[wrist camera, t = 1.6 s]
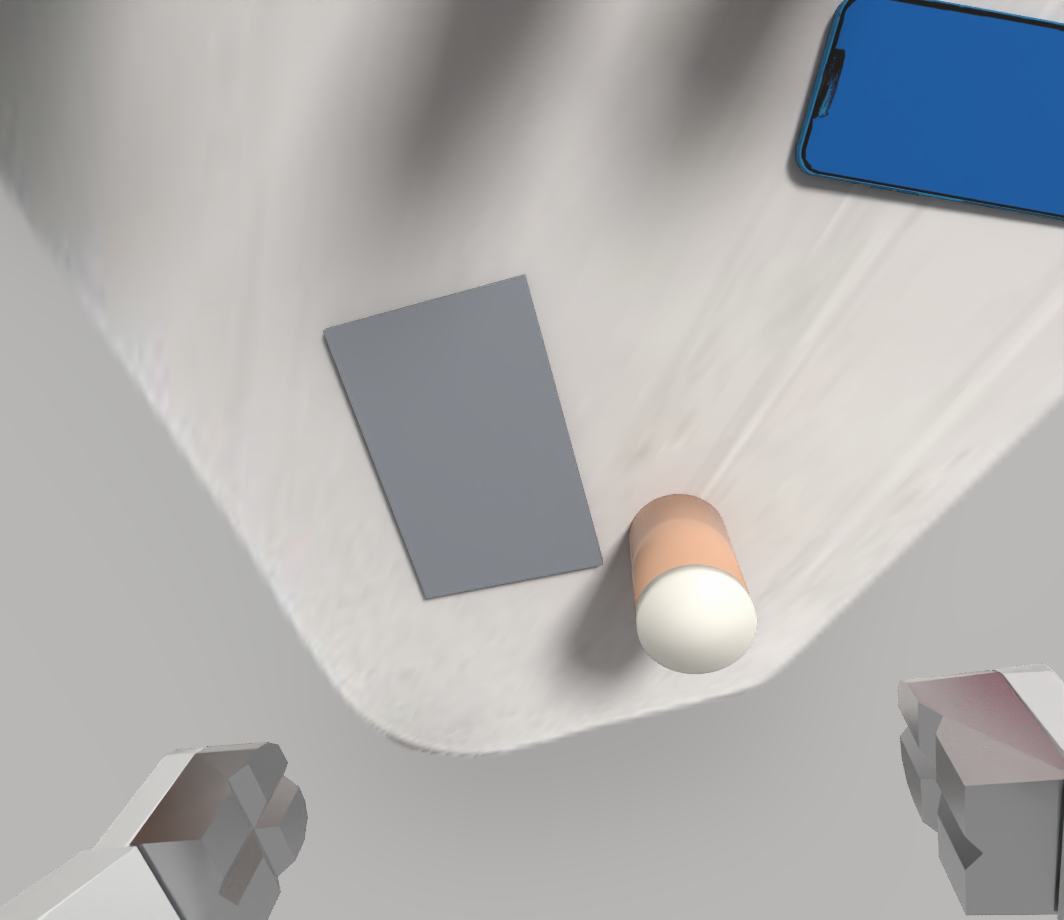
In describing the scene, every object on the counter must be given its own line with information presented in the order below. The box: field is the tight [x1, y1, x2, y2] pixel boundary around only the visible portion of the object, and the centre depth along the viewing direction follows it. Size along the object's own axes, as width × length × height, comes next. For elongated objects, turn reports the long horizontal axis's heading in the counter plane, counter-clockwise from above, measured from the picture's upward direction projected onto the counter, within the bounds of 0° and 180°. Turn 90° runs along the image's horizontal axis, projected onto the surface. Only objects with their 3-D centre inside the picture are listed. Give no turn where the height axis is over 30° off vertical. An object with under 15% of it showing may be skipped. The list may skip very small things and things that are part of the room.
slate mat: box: [323, 275, 603, 599], centre depth 39 cm, size 17×11×1 cm, turn 16°
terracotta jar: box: [629, 494, 757, 674], centre depth 37 cm, size 6×6×8 cm
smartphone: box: [795, 0, 1064, 220], centre depth 31 cm, size 7×1×15 cm
